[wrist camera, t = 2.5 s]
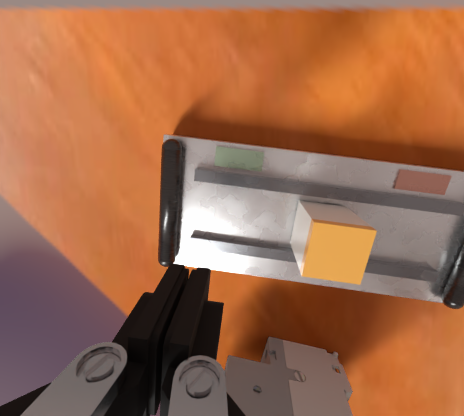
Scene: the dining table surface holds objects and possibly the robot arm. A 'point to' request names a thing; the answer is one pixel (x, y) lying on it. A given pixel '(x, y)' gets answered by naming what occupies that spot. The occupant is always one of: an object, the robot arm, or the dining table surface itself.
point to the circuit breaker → (289, 382)
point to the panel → (319, 191)
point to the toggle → (331, 242)
